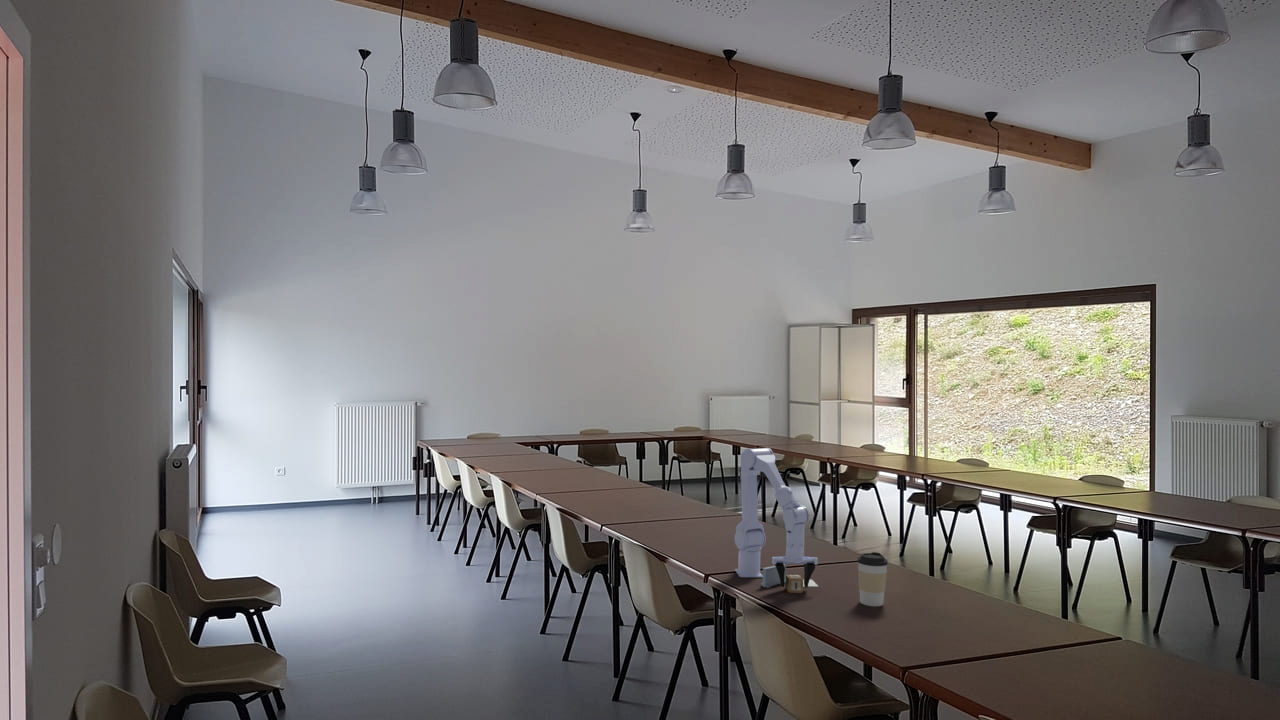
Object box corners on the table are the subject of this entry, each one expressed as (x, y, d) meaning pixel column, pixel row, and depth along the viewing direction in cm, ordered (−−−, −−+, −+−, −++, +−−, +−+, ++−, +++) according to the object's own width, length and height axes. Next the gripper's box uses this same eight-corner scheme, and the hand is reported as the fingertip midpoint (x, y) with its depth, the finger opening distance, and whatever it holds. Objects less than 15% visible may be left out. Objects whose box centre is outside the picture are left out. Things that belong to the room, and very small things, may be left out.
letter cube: (785, 588, 272) (785, 573, 272) (799, 589, 272) (799, 574, 272) (788, 593, 267) (789, 577, 267) (803, 593, 267) (803, 578, 267)
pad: (788, 580, 282) (788, 579, 282) (811, 580, 282) (812, 579, 282) (794, 587, 274) (794, 585, 274) (818, 587, 274) (818, 586, 274)
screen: (760, 585, 274) (760, 567, 274) (780, 581, 281) (781, 563, 281) (767, 588, 272) (767, 569, 272) (787, 583, 278) (788, 565, 278)
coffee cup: (880, 609, 251) (881, 559, 251) (851, 603, 257) (852, 554, 257) (891, 602, 259) (892, 554, 259) (863, 596, 264) (864, 549, 264)
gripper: (775, 546, 265) (774, 589, 265) (820, 547, 266) (819, 589, 266) (770, 541, 272) (769, 583, 272) (814, 542, 273) (813, 583, 273)
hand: (794, 586), depth 270 cm, fingers open, 7 cm apart
